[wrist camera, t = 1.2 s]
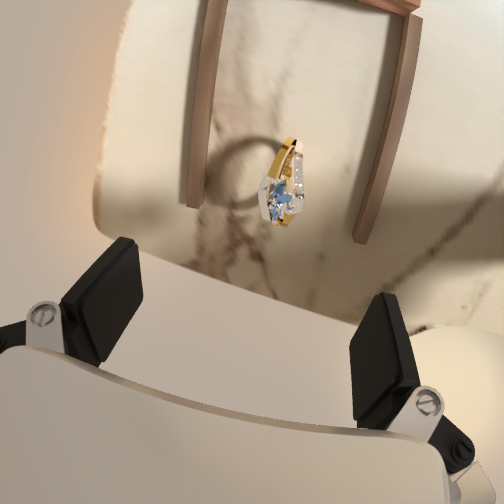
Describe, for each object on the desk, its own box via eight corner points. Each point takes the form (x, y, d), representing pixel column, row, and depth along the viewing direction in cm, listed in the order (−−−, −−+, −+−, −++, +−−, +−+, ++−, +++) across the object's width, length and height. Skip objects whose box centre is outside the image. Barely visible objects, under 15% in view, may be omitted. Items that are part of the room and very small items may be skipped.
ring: (291, 207, 27) (285, 252, 21) (259, 196, 27) (242, 237, 21) (318, 139, 23) (323, 161, 17) (282, 127, 23) (273, 143, 17)
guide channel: (418, 4, 14) (435, -7, 11) (363, 237, 27) (369, 259, 24) (221, -34, 16) (207, -50, 12) (191, 200, 29) (176, 217, 25)
